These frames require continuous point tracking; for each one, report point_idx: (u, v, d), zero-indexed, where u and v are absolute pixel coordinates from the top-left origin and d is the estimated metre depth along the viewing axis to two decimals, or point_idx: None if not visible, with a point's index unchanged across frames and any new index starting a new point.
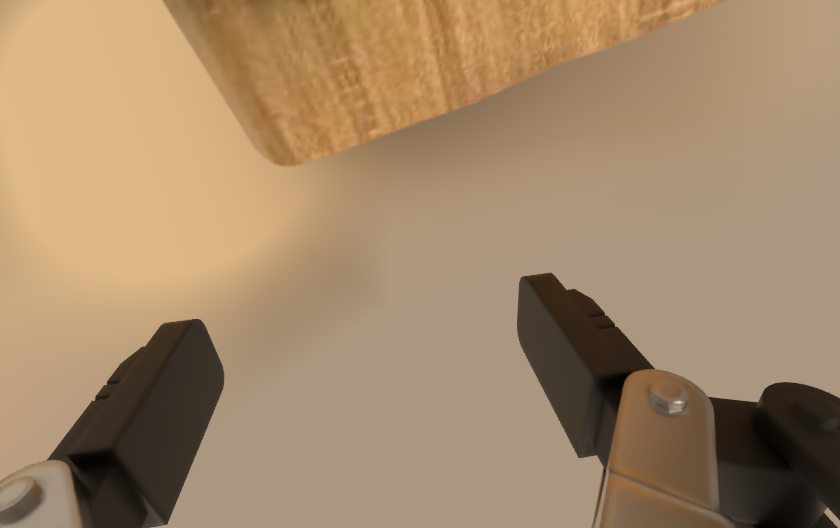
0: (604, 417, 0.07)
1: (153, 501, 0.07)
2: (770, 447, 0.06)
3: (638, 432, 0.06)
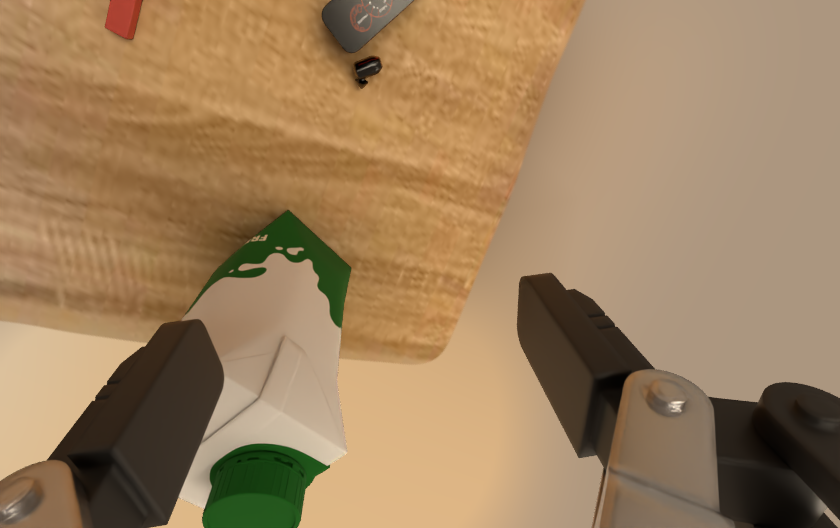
0: (604, 417, 0.07)
1: (153, 501, 0.07)
2: (770, 447, 0.06)
3: (638, 432, 0.06)
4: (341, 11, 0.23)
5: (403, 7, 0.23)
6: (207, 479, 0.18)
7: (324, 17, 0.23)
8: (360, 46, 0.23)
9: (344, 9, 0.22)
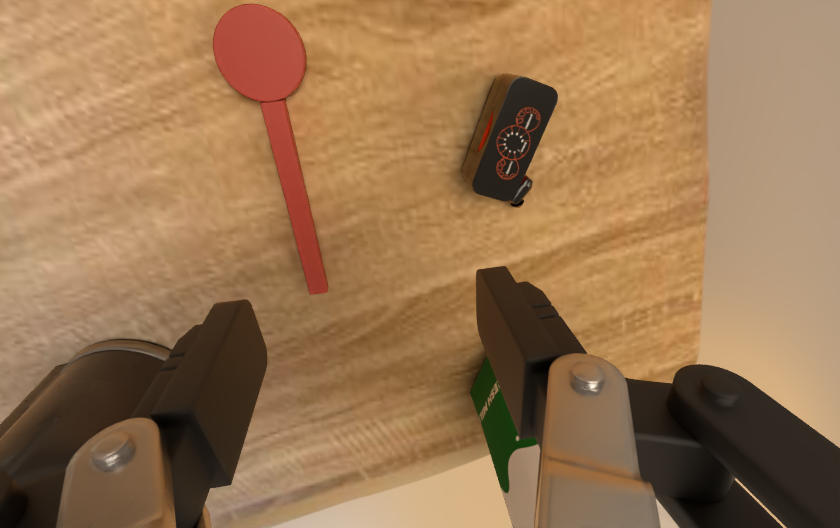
0: (537, 399, 0.07)
1: (220, 462, 0.08)
2: (678, 423, 0.06)
3: (565, 415, 0.06)
4: (488, 175, 0.22)
5: (541, 133, 0.21)
6: None
7: (476, 189, 0.22)
8: (517, 189, 0.23)
9: (490, 171, 0.22)
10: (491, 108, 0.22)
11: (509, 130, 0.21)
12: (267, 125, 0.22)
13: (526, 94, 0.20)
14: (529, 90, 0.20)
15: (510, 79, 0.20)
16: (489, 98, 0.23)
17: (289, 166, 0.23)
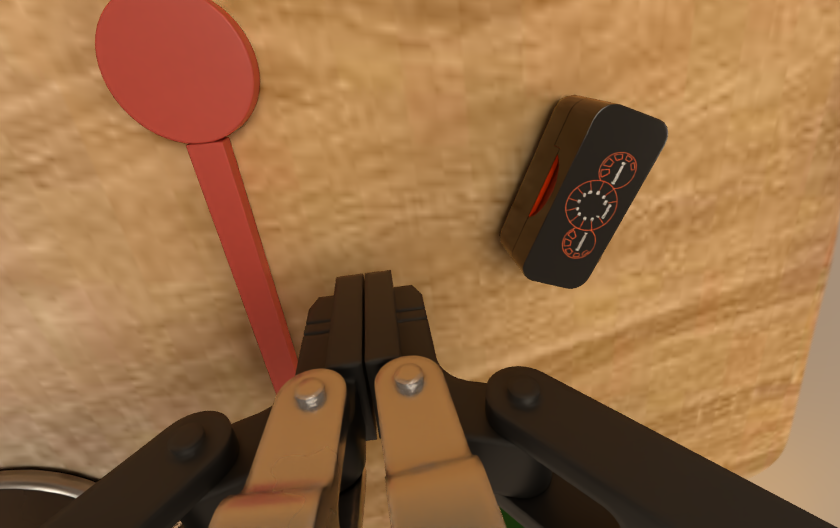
0: None
1: (372, 416, 0.08)
2: (485, 423, 0.06)
3: (398, 423, 0.06)
4: (548, 253, 0.14)
5: (636, 190, 0.13)
6: None
7: (528, 274, 0.14)
8: (590, 271, 0.15)
9: (551, 248, 0.14)
10: (554, 150, 0.14)
11: (586, 187, 0.13)
12: (200, 179, 0.14)
13: (619, 132, 0.12)
14: (624, 125, 0.12)
15: (592, 107, 0.12)
16: (547, 133, 0.15)
17: (239, 238, 0.15)
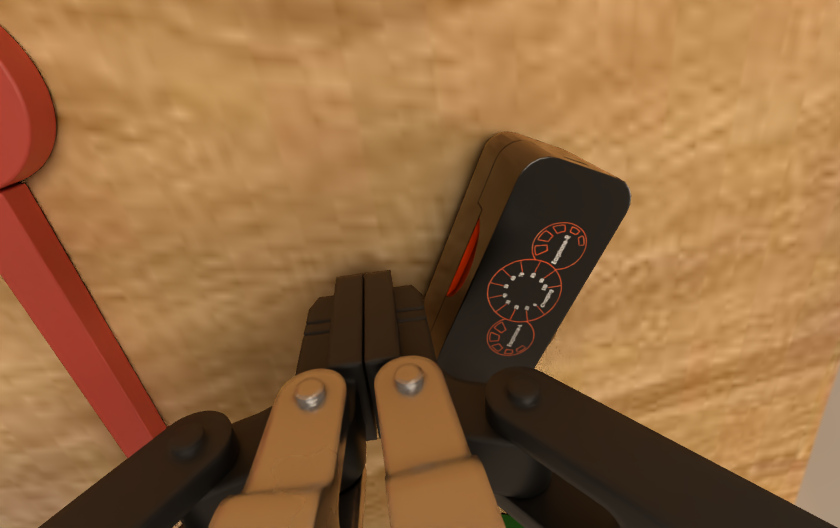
0: None
1: (372, 416, 0.08)
2: (485, 423, 0.06)
3: (398, 424, 0.06)
4: (469, 351, 0.10)
5: (588, 271, 0.10)
6: None
7: None
8: None
9: (473, 345, 0.10)
10: (477, 210, 0.10)
11: (516, 269, 0.09)
12: None
13: (558, 195, 0.08)
14: (565, 186, 0.08)
15: (519, 158, 0.08)
16: (473, 182, 0.11)
17: (57, 315, 0.11)
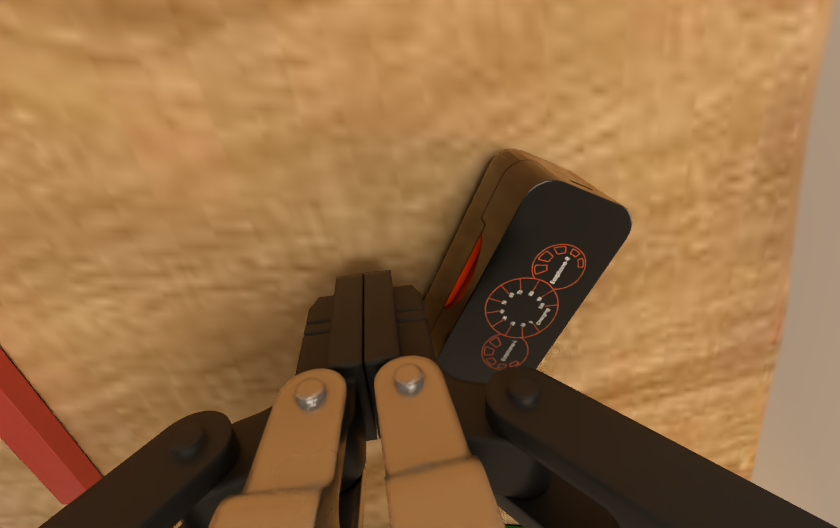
0: None
1: (373, 416, 0.08)
2: (485, 422, 0.06)
3: (398, 424, 0.06)
4: (463, 363, 0.10)
5: (585, 292, 0.10)
6: None
7: None
8: None
9: (467, 357, 0.10)
10: (480, 225, 0.10)
11: (514, 286, 0.09)
12: None
13: (561, 218, 0.09)
14: (569, 210, 0.09)
15: (525, 179, 0.09)
16: (477, 196, 0.11)
17: None
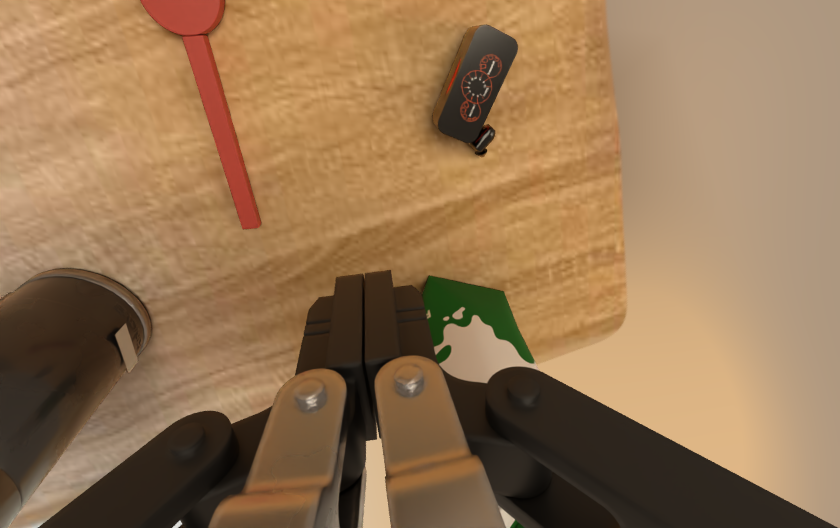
0: None
1: (372, 416, 0.08)
2: (485, 423, 0.06)
3: (398, 424, 0.06)
4: (452, 115, 0.25)
5: (502, 80, 0.24)
6: None
7: (441, 128, 0.25)
8: (478, 132, 0.25)
9: (454, 112, 0.24)
10: (460, 55, 0.24)
11: (473, 74, 0.24)
12: (190, 59, 0.24)
13: (489, 42, 0.23)
14: (492, 38, 0.23)
15: (476, 27, 0.23)
16: (460, 48, 0.25)
17: (213, 100, 0.25)
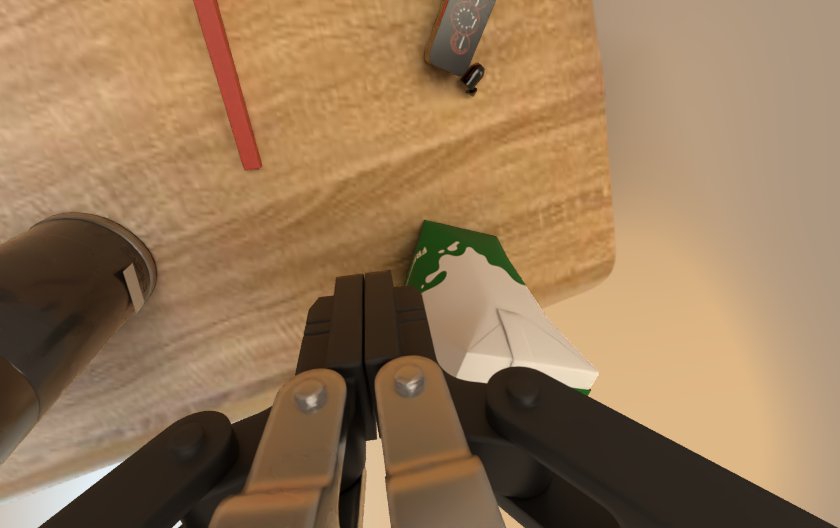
0: None
1: (372, 416, 0.08)
2: (485, 422, 0.06)
3: (398, 424, 0.06)
4: (443, 47, 0.26)
5: (489, 12, 0.25)
6: None
7: (432, 60, 0.26)
8: (468, 65, 0.27)
9: (445, 44, 0.26)
10: None
11: (462, 6, 0.25)
12: None
13: None
14: None
15: None
16: None
17: (215, 37, 0.26)
